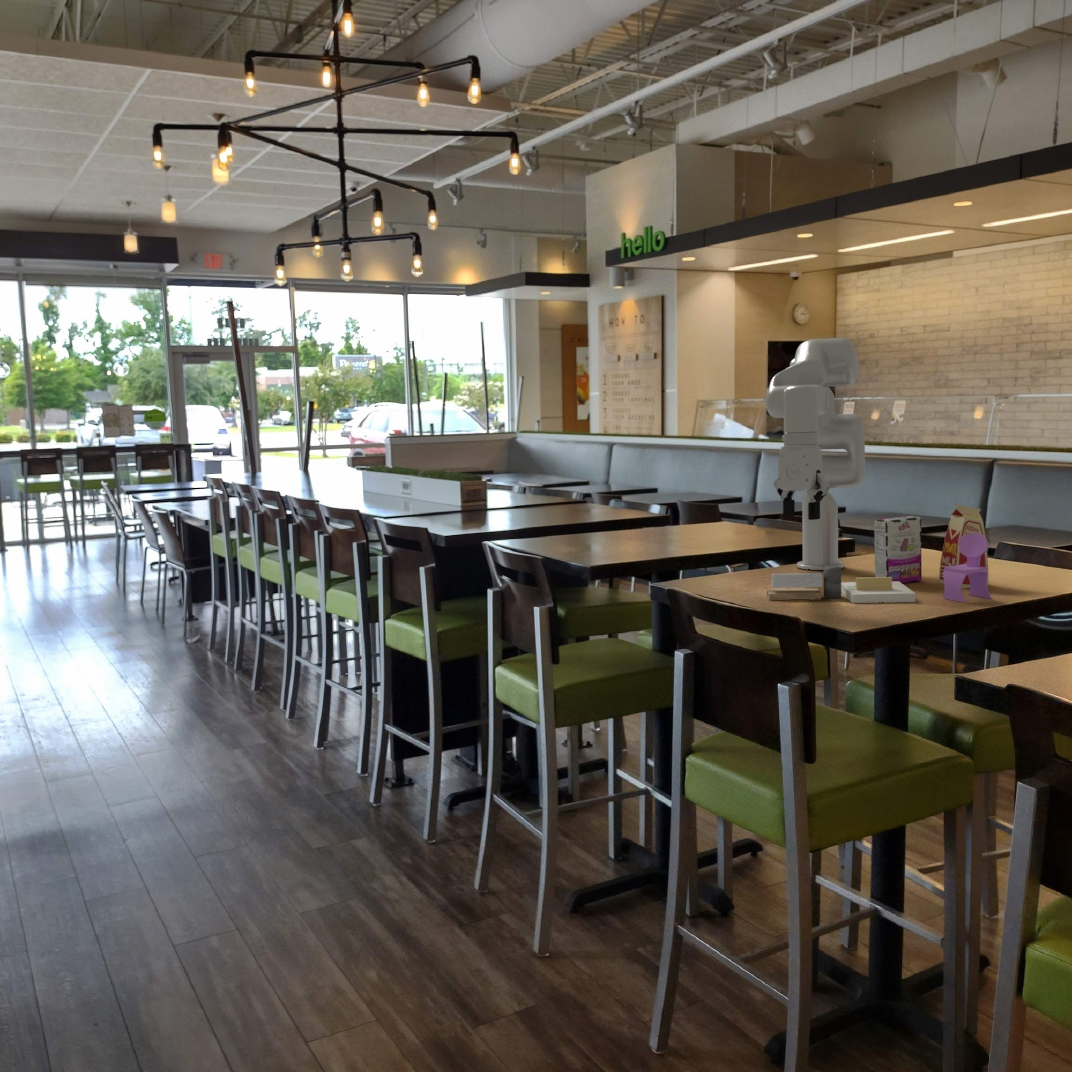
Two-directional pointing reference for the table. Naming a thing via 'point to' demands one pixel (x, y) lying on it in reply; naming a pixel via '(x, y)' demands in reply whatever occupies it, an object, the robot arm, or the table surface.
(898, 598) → the butter dish
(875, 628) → the table surface
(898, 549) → the candy bar box
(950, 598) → the toy chair
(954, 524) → the milk carton
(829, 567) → the jamb
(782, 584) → the swing bar
